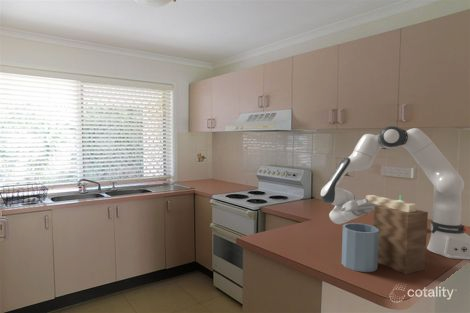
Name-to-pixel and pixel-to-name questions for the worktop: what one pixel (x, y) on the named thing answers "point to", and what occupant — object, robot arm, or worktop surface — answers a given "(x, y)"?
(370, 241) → the pot
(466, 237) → the robot arm
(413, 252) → the stand
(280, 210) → the worktop surface
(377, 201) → the slat
